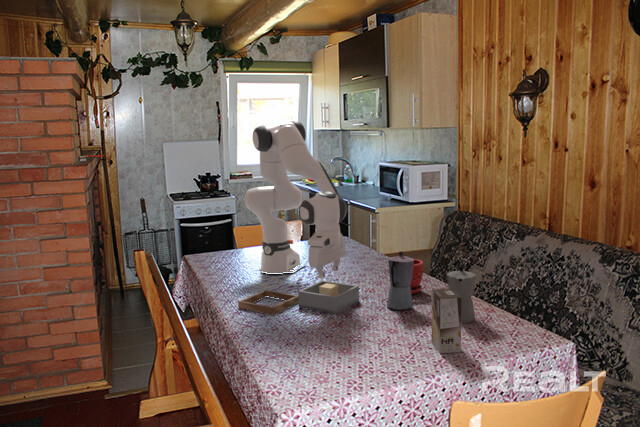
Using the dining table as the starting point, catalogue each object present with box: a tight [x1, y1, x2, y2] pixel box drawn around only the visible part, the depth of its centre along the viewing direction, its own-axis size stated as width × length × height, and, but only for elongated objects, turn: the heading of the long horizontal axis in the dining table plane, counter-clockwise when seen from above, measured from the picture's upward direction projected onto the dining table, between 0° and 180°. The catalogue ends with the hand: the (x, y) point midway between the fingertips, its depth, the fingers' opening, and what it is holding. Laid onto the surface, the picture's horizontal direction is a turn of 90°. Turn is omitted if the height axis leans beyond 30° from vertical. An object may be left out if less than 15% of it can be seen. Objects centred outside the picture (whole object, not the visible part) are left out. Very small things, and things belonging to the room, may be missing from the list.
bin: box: [297, 280, 360, 315], centre depth 196 cm, size 16×16×6 cm
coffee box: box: [431, 288, 462, 354], centre depth 154 cm, size 9×6×16 cm
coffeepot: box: [446, 265, 477, 324], centre depth 178 cm, size 15×9×18 cm, turn 162°
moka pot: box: [386, 251, 414, 311], centre depth 190 cm, size 10×15×20 cm, turn 155°
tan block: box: [319, 283, 338, 296], centre depth 196 cm, size 5×5×6 cm
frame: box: [237, 289, 299, 316], centre depth 197 cm, size 16×16×2 cm
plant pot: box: [410, 258, 424, 295], centre depth 209 cm, size 13×13×12 cm
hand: (328, 274), depth 195 cm, fingers open, 8 cm apart
